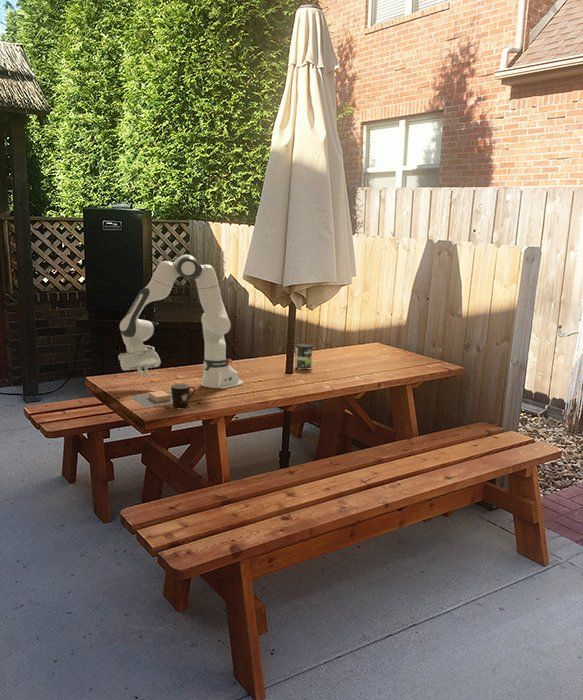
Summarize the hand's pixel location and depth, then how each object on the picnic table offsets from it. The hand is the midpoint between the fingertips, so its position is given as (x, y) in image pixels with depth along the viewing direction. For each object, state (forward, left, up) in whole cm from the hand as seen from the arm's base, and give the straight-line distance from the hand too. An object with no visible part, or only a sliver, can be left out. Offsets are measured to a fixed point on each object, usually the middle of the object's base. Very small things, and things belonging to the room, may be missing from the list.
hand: (144, 374), depth 318 cm
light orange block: (0, +13, -7) cm, 14 cm away
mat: (0, +16, -8) cm, 18 cm away
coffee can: (-103, -4, -9) cm, 103 cm away
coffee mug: (-5, +32, -9) cm, 34 cm away
